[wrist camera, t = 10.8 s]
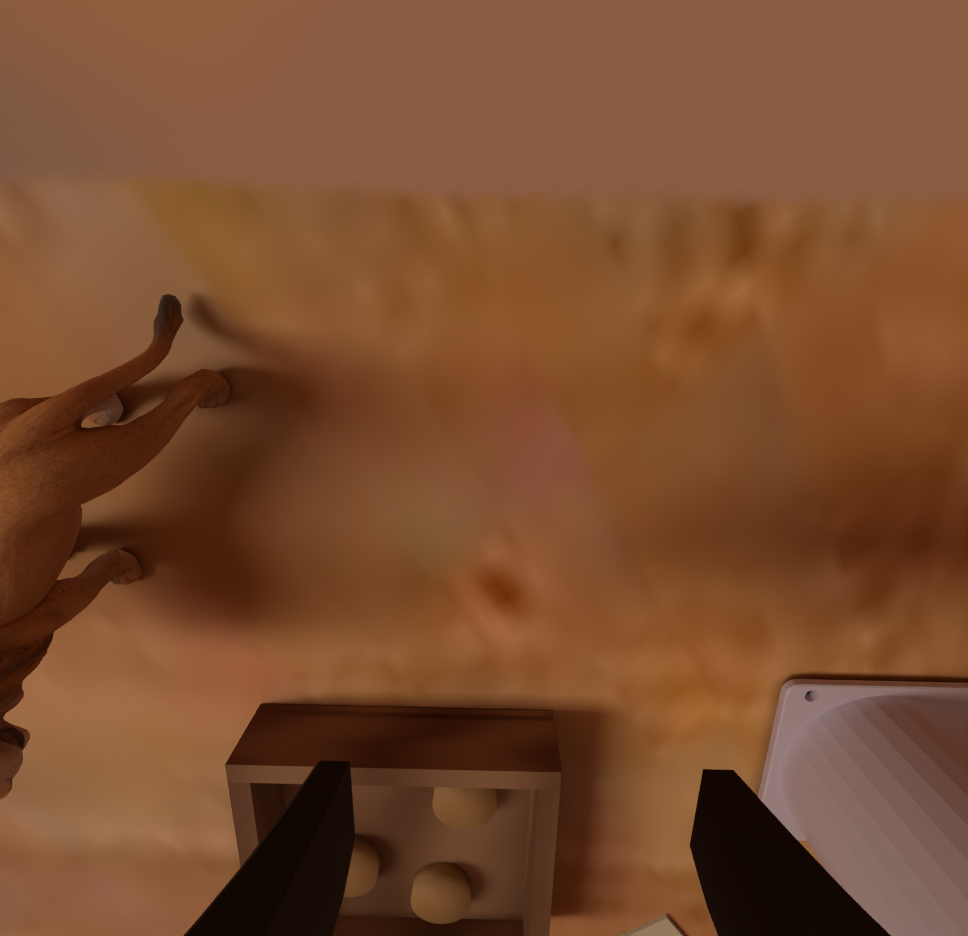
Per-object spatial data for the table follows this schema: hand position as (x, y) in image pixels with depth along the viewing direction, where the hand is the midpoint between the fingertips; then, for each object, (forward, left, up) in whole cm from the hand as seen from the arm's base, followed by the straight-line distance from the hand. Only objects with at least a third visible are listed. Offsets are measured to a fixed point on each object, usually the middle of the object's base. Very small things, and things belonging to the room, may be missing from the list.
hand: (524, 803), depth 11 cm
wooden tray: (+4, +12, -9) cm, 16 cm away
